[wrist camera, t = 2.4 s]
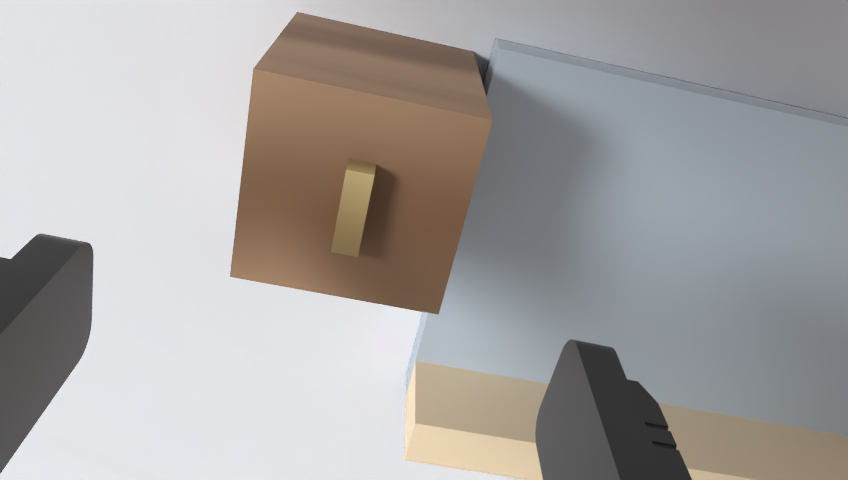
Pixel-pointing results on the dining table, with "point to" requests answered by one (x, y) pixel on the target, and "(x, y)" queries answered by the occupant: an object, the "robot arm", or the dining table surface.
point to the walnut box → (359, 163)
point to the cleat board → (645, 271)
